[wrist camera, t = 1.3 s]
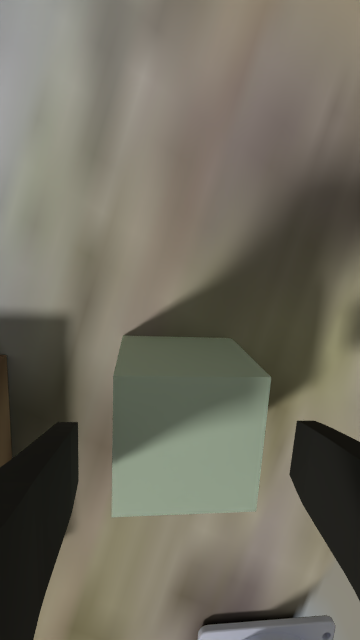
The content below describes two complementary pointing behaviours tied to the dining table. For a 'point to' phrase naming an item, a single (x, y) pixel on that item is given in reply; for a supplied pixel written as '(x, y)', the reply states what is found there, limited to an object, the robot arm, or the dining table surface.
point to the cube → (186, 426)
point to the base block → (4, 414)
